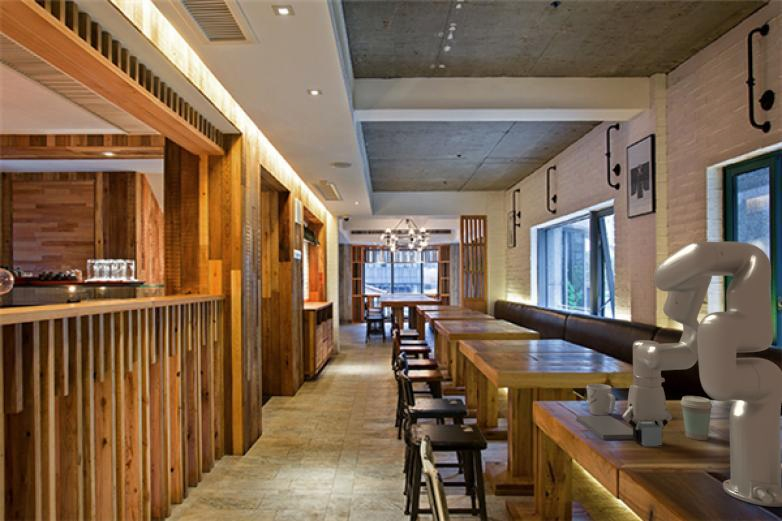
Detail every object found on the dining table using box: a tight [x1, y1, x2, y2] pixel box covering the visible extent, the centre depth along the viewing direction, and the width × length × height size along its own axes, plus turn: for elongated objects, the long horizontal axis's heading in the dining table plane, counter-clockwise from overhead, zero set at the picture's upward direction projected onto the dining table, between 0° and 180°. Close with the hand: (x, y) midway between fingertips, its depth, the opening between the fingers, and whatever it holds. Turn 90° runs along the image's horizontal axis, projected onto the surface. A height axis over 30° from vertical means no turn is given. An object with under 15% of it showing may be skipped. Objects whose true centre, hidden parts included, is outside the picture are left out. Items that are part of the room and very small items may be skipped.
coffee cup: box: [680, 395, 713, 441], centre depth 155 cm, size 8×8×12 cm
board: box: [576, 415, 634, 441], centre depth 163 cm, size 20×12×2 cm, turn 2°
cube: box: [639, 421, 663, 447], centre depth 150 cm, size 6×6×6 cm
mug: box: [586, 383, 616, 416], centre depth 180 cm, size 11×8×10 cm
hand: (647, 441), depth 150 cm, fingers closed on cube, 5 cm apart
